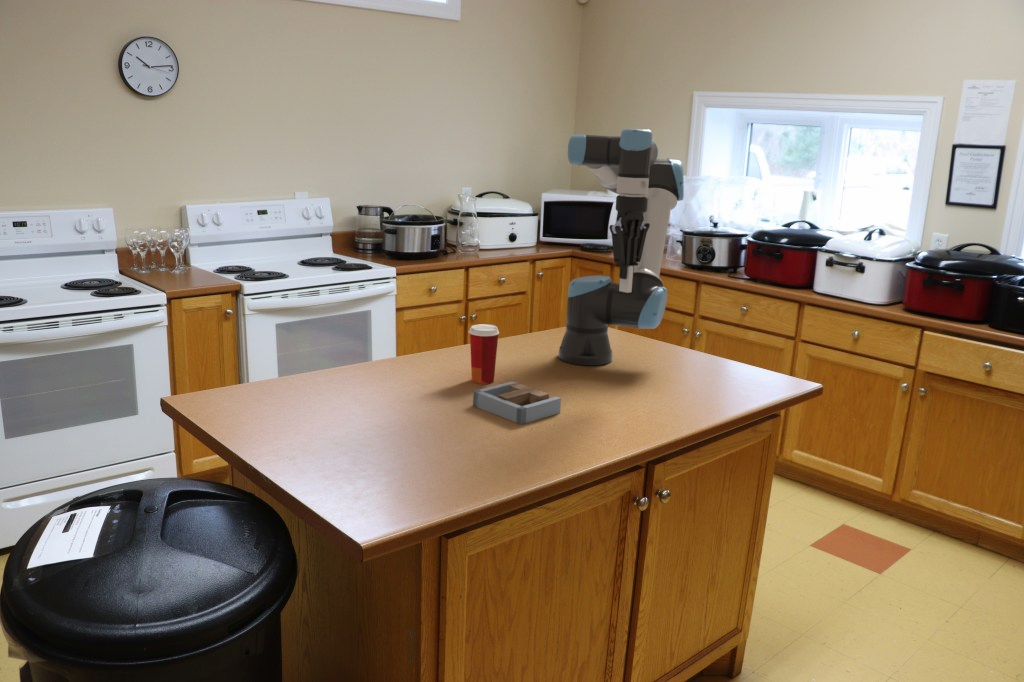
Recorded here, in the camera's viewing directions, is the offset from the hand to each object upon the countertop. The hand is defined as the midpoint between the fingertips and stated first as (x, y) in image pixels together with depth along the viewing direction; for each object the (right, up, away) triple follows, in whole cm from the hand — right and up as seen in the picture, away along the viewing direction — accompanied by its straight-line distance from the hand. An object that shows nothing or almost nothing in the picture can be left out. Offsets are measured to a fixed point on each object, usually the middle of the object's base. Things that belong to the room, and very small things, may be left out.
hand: (625, 291), depth 209 cm
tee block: (-27, -28, -14) cm, 41 cm away
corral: (-27, -28, -14) cm, 41 cm away
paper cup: (-35, -22, +6) cm, 43 cm away
